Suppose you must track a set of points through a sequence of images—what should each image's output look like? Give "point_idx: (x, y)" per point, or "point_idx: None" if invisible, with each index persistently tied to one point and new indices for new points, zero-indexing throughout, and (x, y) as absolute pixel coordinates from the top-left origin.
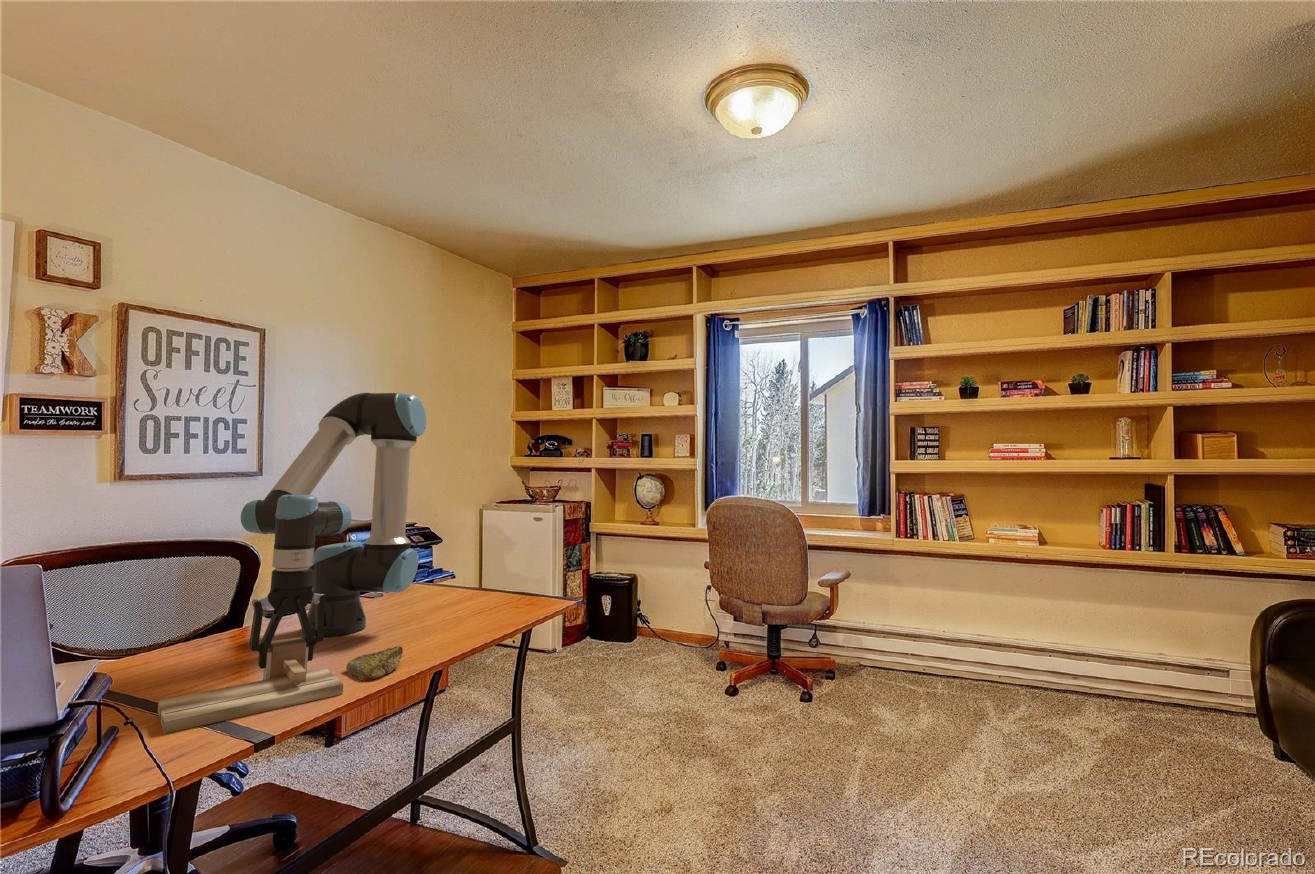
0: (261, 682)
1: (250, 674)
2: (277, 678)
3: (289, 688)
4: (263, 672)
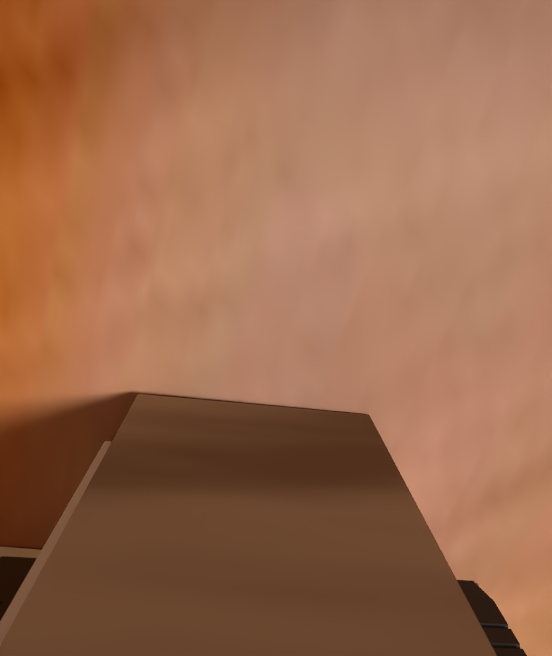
0: None
1: (81, 96)
2: None
3: None
4: (78, 492)
